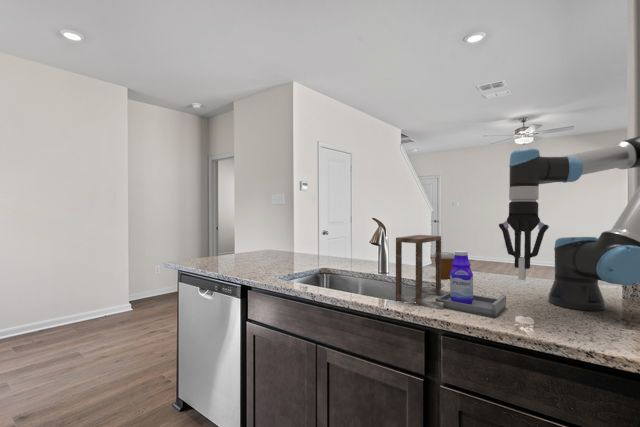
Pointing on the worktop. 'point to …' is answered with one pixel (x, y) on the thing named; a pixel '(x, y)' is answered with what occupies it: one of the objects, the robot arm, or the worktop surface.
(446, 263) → the disposable coffee cup
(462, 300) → the bottle
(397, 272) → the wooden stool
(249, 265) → the worktop surface
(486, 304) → the tray
